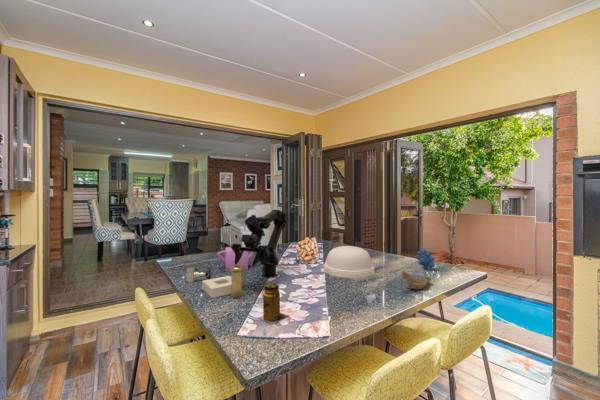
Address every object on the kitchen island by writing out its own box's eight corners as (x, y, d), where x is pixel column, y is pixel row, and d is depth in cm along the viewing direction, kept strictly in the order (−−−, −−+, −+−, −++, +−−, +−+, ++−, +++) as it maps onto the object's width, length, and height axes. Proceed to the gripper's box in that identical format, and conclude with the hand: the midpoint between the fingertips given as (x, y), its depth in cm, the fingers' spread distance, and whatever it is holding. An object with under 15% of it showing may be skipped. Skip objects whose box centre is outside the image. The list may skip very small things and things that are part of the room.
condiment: (258, 318, 99) (258, 285, 99) (274, 310, 106) (274, 280, 105) (272, 324, 94) (272, 290, 94) (288, 316, 101) (288, 284, 101)
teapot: (260, 269, 164) (260, 246, 164) (216, 272, 158) (216, 248, 158) (257, 263, 179) (257, 242, 179) (217, 265, 173) (217, 243, 172)
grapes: (412, 268, 168) (412, 248, 167) (419, 266, 171) (419, 247, 171) (430, 272, 158) (430, 252, 157) (436, 271, 161) (437, 250, 161)
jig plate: (230, 283, 138) (230, 275, 138) (241, 291, 127) (241, 282, 127) (201, 289, 130) (201, 280, 130) (211, 297, 119) (211, 288, 118)
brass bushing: (239, 293, 124) (239, 264, 124) (244, 296, 120) (244, 267, 120) (228, 295, 121) (228, 266, 121) (233, 299, 117) (233, 269, 117)
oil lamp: (395, 289, 130) (396, 268, 130) (422, 281, 142) (422, 262, 142) (412, 294, 123) (412, 272, 123) (438, 286, 135) (438, 266, 135)
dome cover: (312, 272, 160) (312, 248, 159) (336, 261, 184) (336, 241, 184) (364, 282, 141) (364, 255, 141) (383, 269, 166) (383, 246, 165)
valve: (185, 283, 138) (210, 281, 141) (185, 270, 138) (210, 269, 141) (187, 279, 144) (210, 278, 148) (187, 267, 144) (210, 265, 147)
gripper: (233, 227, 134) (219, 253, 124) (267, 228, 128) (255, 257, 118) (241, 240, 142) (229, 266, 131) (274, 242, 135) (264, 270, 125)
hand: (243, 265), depth 126 cm, fingers open, 9 cm apart
